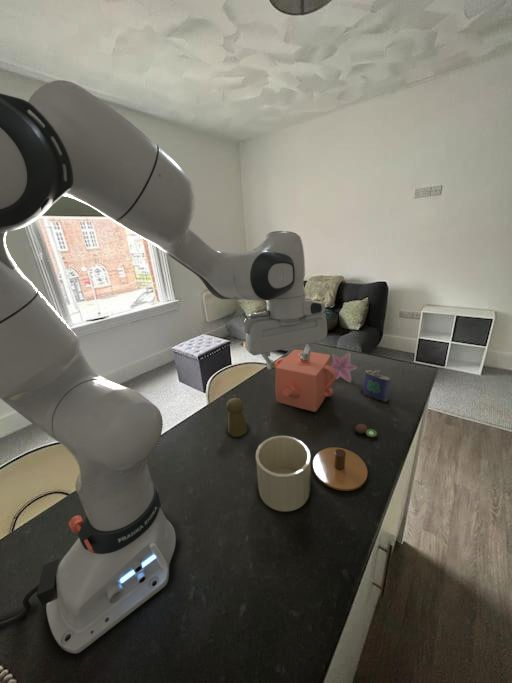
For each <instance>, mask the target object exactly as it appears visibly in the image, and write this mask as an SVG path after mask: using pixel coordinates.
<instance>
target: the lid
mask: <svg viewBox="0 0 512 683" xmlns="http://www.w3.org/2000/svg"><path fill="white" fill-rule="evenodd" d="M312 459H313V460H312V470H313V473H314V475H315V476H316V478H317V479H318V480H319V481H320V482H321V483H322V484H324V485H325V486H327V487H328V488H331V489H333V490H337V491H342V492H350V491H355V490H358V489H360V488H361V487H362V486H363V485H364V484H365V483H366V481H367V479H368V474H369V472H368V468H367V464H366V463H365V461H364V460H363V458H361V457H360V456H359V455H358V454H356V453H355V452H353V451H352V450H349V449H347V448H343V447H335V446H334V447H333V446H332V447H327V448H326V447H325V448H323V449H322V450H319V451H318V452H317V453H316V454H315V456H314V457H313V458H312Z"/></svg>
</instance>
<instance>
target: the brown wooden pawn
mask: <svg viewBox="0 0 512 683" xmlns="http://www.w3.org/2000/svg"><path fill="white" fill-rule="evenodd" d="M225 405H226V406H225V407H226V410H227V412H228V421H227V424H228V426H227V432H228V434H229V436H232V437H242V436H244V435H245V434H247V431H248V427H247V423H246V418H245V416H244V412H243V409H244V402H243V400H242V399H240V398H239V397H234V398H230V399H229V400H227V402H226V404H225Z"/></svg>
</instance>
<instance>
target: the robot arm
mask: <svg viewBox="0 0 512 683" xmlns="http://www.w3.org/2000/svg"><path fill="white" fill-rule="evenodd" d="M62 197H68V198H71V199H74V200H76V201H78V202H81V203H83V204H85V205H87V206H89V207H91V208H92V209H94V210H96V211H97V212H99V213H101V214H102V215H103V216H105V217H106V218H108V219H109V220H111V221H113V222H114V223H116V224H118V225H119V226H120V227H123V228H125V229H126V230H127V231H130V232H131V233H133V234H134V235H137V236H138V237H140V238H142V239H143V240H146V241H147V242H149V243H151V244H152V245H153V246H155V247H157V249H159V250H160V251H161V252H163V253H164V254H166V255H167V256H169V257H170V258H171V259H173V260H174V261H175V262H177V263H178V264H180V265H181V266H183V267H184V268H186V269H187V270H189V271H190V272H191V273H193V274H194V275H196V276H197V277H198V278H199V279H200V280H201V282H202V283H203V284H204V286H205V287H206V289H207V290H208V291H209V292H210V293H211V295H213V296H214V297H216V299H217V298H218V299H220V300H242V301H243V300H244V301H257V302H266V310H265V311H260V312H252V313H250V314H249V315H248V316H247V317H245V319H244V321H243V326H244V327H243V328H244V331H245V348H246V351H247V352H248V353H249V354H251V355H252V356H258V355H261V357H262V358H263V359H264V361H265V363H266V368H267V369H268V370H274V369H275V363H276V361H275V360H273V359H270V357H271V353H272V352H277V351H282V350H286V349H291V348H295V347H300V346H305V347H304V349H303V351H304V352H302V353H301V360H303V361H307V360H309V359H310V353H311V352H313V349H314V343H319V342H323V341H325V340H326V338H327V337H328V324H327V323H328V322H327V321H328V320H327V316H326V314H325V311H326V304H325V303H323V302H321V301H316V300H312V299H310V298H306V295H307V294H306V293H307V292H306V290H305V286H304V283H305V282H304V280H305V277H306V261H305V259H306V258H305V249H304V245H303V244H304V243H303V240H302V238H301V235H299V234H298V233H296V232H294V231H283V230H277V231H276V230H275V231H271V232H268V233H267V234H265V238H264V240H263V241H262V242H261V243H260V244H259V245H258V246H256V247H254V248H253V249H252V250H248V251H237V252H227V251H225V252H224V251H219V250H217V249H214V248H213V247H212V246H211V245H210V244H208V243H207V242H206V241H205V240H204V239H203V238H201V237H200V235H199V234H198V233H196V232H195V231H194V230H193V229H192V228H191V227H190V225H191V223H192V222H193V221H192V220H193V217H194V214H195V210H196V196H195V190H194V186H193V183H192V180H191V179H190V178H189V177H188V175H187V173H185V171H184V170H183V168H182V167H181V166H180V165H179V164H178V163H177V162H176V161H175V159H173V158H172V157H171V156H170V155H169V153H167V152H166V151H165V150H164V149H163V148H162V147H161V146H159V145H158V144H157V143H156V142H155V141H154V140H152V139H151V138H150V137H149V135H147V134H146V133H145V132H144V131H143V130H141V129H140V128H139V127H137V126H136V125H135V124H134V123H132V121H130V120H129V119H128V118H126V117H125V116H123V115H122V114H121V113H120V112H119V111H117V110H116V109H115V108H113V107H112V106H110V105H109V104H107V103H106V102H105V101H103V100H102V99H100V98H99V97H97V96H96V95H94V94H93V93H91V92H90V91H88V90H87V89H85V88H84V87H82V86H80V85H78V84H77V83H74V82H72V81H69V80H64V79H57V80H52V81H49V82H46V83H45V84H43V85H41V86H39V87H38V88H37V89H36V90H35V91H34V92H33V93H32V95H31V96H30V98H29V99H28V100H25V99H23V98H19V97H15V96H13V95H9V94H5V93H1V92H0V400H1V401H3V402H4V403H5V404H7V405H8V406H9V407H10V408H12V409H13V410H14V411H15V412H17V413H18V414H19V415H21V416H22V417H24V418H25V419H26V420H27V421H29V422H30V423H31V424H33V425H34V426H35V427H36V428H37V429H39V430H40V431H42V432H43V433H44V434H46V435H47V436H49V437H50V438H51V439H53V440H54V441H55V442H57V443H59V444H60V445H61V446H63V447H64V448H65V449H66V450H67V451H68V452H69V454H70V455H71V456H72V457H73V458H74V460H75V462H76V464H77V467H78V471H79V473H78V475H77V477H76V480H75V491H76V494H77V496H78V498H79V501H80V503H81V506H82V508H83V511H84V513H85V519H84V520H83V518H82V516H81V515H74V516H72V517H71V519H70V520H69V522H68V527H69V528H70V529H71V532H72V533H73V534H77V536H78V538H77V539H76V540H75V542H74V543H73V545H72V546H71V548H70V549H69V550H68V551H67V553H66V554H65V555H64V556H63V558H62V559H61V558H60V557H58V558H56V559H54V560H51V561H49V562H46V563H44V564H42V569H41V573H40V578H39V582H38V584H37V585H36V586H34V587H33V588H31V589H30V590H29V591H28V592H27V593H26V594H25V596H24V597H23V600H22V606H23V607H24V609H23V610H22V611H21V612H20V613H18V614H17V615H16V616H13V617H12V618H8V619H6V620H3V621H1V622H0V629H1V628H3V627H5V626H8V625H9V624H11V623H14V622H16V621H18V620H20V619H22V618H24V617H25V616H27V614H28V613H29V612H30V610H31V608H32V605H31V602H30V600H29V599H30V598H31V597H32V596H33V595H35V594H36V597H37V599H38V600H39V602H40V604H41V606H45V609H46V610H45V612H46V617H47V622H48V626H49V629H50V632H51V634H52V637H53V639H54V640H55V641H56V642H55V643H57V645H58V646H59V647H60V648H61V649H62V650H64V651H66V652H67V653H70V654H74V655H76V654H79V653H81V652H83V651H84V650H85V649H86V648H88V647H89V646H90V645H92V644H93V643H94V642H96V641H97V640H98V639H99V638H101V637H102V636H103V635H104V634H106V633H107V632H109V631H110V630H111V629H113V627H115V626H116V625H118V624H119V623H120V622H121V621H123V620H124V619H125V618H126V617H127V616H129V615H130V614H132V613H133V612H134V611H135V610H137V609H138V608H139V607H141V606H142V605H143V604H144V603H146V602H147V601H148V600H150V599H151V598H152V597H153V596H154V595H156V594H157V593H159V592H160V591H161V590H162V589H164V588H165V587H166V586H167V584H168V582H169V579H170V578H169V577H170V564H171V560H172V558H173V556H174V553H175V549H176V543H177V535H176V534H177V533H176V531H175V527H173V525H172V523H171V522H170V521H169V520H168V519H167V517H166V516H165V514H164V512H163V510H162V503H161V500H160V499H161V497H160V494H159V490H158V487H157V486H156V484H155V482H153V480H152V477H151V472H150V468H149V465H148V459H147V458H148V457H149V456H151V454H152V453H153V452H154V450H155V449H156V447H157V445H158V444H159V441H160V439H161V437H162V433H163V426H164V422H163V414H162V413H161V410H160V409H159V408H158V407H157V406H156V405H155V404H154V403H153V402H152V401H150V400H149V399H148V398H147V397H145V396H144V395H143V394H142V393H140V392H139V391H137V390H135V389H132V388H129V387H127V386H125V385H122V384H119V383H116V382H114V381H112V380H110V379H109V378H106V377H104V376H103V375H101V374H100V373H99V372H97V371H95V369H94V368H93V367H92V366H91V365H90V364H89V362H88V361H87V359H86V357H85V356H84V353H83V351H82V350H81V348H80V347H81V342H80V339H79V337H78V335H77V334H76V333H75V332H74V330H73V329H72V328H71V327H70V326H69V325H68V323H66V321H65V320H64V319H63V317H62V316H61V315H60V314H59V313H58V311H57V310H56V309H55V308H54V307H53V305H51V303H50V302H49V300H47V299H46V297H45V296H44V295H43V294H42V293H41V292H40V291H39V290H38V288H37V287H36V286H35V285H34V284H33V282H32V281H31V280H30V279H29V278H28V277H27V276H26V275H25V273H24V272H23V271H22V269H20V268H19V266H18V264H16V262H15V261H14V259H13V258H12V256H11V254H10V252H9V250H8V248H7V244H6V239H7V238H6V236H7V234H8V233H9V232H13V231H17V230H20V229H22V228H25V227H27V226H28V225H30V224H32V223H34V222H35V221H37V220H38V219H39V218H41V217H42V216H43V215H44V214H45V213H46V212H47V211H48V210H50V208H51V207H53V205H54V204H55V203H57V202H58V201H59V200H60V199H61V198H62ZM154 584H155V585H154Z"/></svg>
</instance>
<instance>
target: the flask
mask: <svg viewBox="0 0 512 683" xmlns="http://www.w3.org/2000/svg"><path fill="white" fill-rule="evenodd" d="M380 372H381V370H379V369H375V370H374V371H373V370H371V369H366V370H365V371H364V375H363V383H362V384H363V385H362V394H363V395H365V396H367V397H369V398H372V399H374V400H376V401H379V402H383V403H386V402H388V399H389V392H390V383H391V378H390V377H389V376H386V375H383V374H380Z"/></svg>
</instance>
